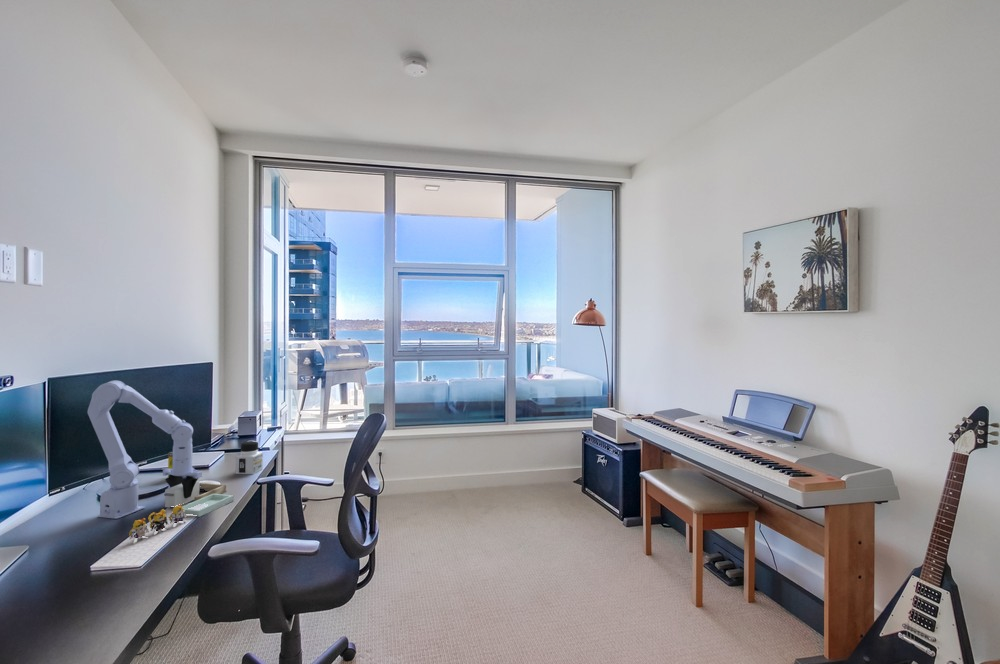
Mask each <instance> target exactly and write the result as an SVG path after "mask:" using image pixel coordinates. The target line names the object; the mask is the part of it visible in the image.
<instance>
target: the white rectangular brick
mask: <svg viewBox="0 0 1000 664" xmlns="http://www.w3.org/2000/svg"><path fill="white" fill-rule="evenodd" d="M199 483H200V480H197V482H196V483H195V485H194V488H193V491H192V494H191V497H188V498H184V492H183V485H182V483H181V484H179V485H176V486H173V487H171V488H170V487H168V488H166V489H165V490H164V508H170V507H171V506H176V505H179V504H183V503H185V504H189V503H191V502H193V501H194V497H196V496H199V495H200V490H199ZM183 505H184V504H183Z"/></svg>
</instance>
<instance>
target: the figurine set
mask: <svg viewBox="0 0 1000 664" xmlns="http://www.w3.org/2000/svg"><path fill="white" fill-rule="evenodd" d="M182 506H183V505H181V504H180V505H178V506H176V507H175V506H174V508H172V509H171V514H170V515H169V517H168V518H167V514H166V513H167V511H166V510H165V509H164V508H162V509H161V510H160V511H159V512H158V513H157V512H152V513H150V514H149V516H148V517H147V519H148V522H149V527H150V528H148V524H147V522H146V518H145V517H143V518H141V519H138V520H134V522H133V524H132V526H133V527H131V529H130V531H129V534H128V537H129V540H132V539H134V538H138V539H139V538H141V537H142V536H146V533H150V532H153V531H154V530H156V531H158V532H159V531H161V529H163V528H165V527H166V526H169V524H171V525H172V523H173V524H174V523H177V524H178V523H179V521H184V519H185V518H187V517H188V516H186V514H185V510H184V509H183V508H182ZM153 515H154V516H153ZM152 516H153V517H152ZM168 520H169V521H170V522H169V521H168ZM168 522H169V523H168ZM149 529H150V531H149ZM165 529H166V528H165Z"/></svg>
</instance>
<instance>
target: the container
mask: <svg viewBox="0 0 1000 664" xmlns="http://www.w3.org/2000/svg"><path fill="white" fill-rule="evenodd" d="M263 458H264V453H263V451H259V442H258V441H256V440H247V441H243V442H241V443H240V454H237V455H236V456H235V475H254V474H256V473H258V472H260V471H261V470H263V468H264V467H263V465H264V463H263Z"/></svg>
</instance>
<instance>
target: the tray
mask: <svg viewBox="0 0 1000 664" xmlns="http://www.w3.org/2000/svg"><path fill="white" fill-rule="evenodd" d="M234 496H235V495H232V494H224V493H222V494H211V495H208V496H206V497H204V498H201V499H199V500H197V501H194V500H193V501H191V502H189V503H186V504H184V505H182V508H183V509H184V510H185V514H193V515H197V516H198V517H197V518H200V517H203V516H204V515H207V514H209V513H211V512H213V511H215V510H217V509H219V508H223V506H226V505H228V504H230V503H232V502H234V500H235V499H234ZM204 503H205V504H208V506H207V507H204V508H202V509H200V510H194V509H188V508H191V507H194V506H196V505H198V504H204Z"/></svg>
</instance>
